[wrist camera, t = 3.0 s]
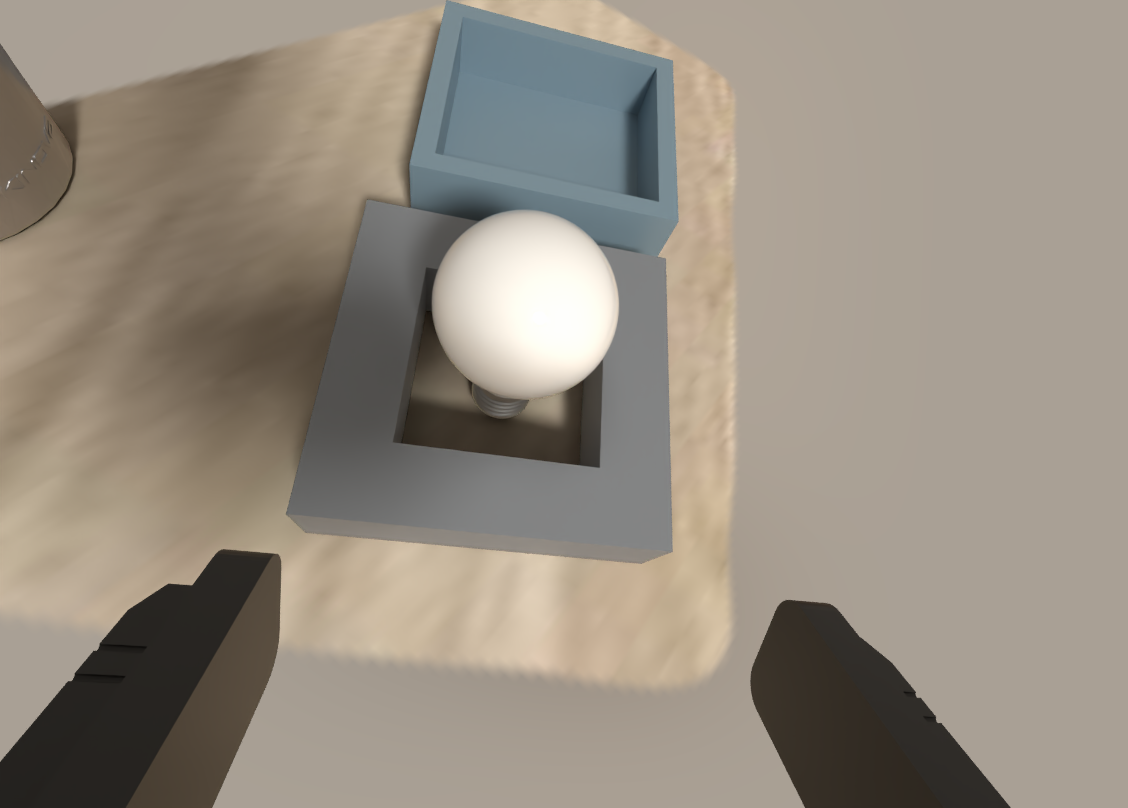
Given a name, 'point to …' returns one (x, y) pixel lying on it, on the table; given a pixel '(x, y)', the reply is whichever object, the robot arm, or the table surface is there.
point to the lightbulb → (524, 308)
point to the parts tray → (547, 130)
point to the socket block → (475, 480)
